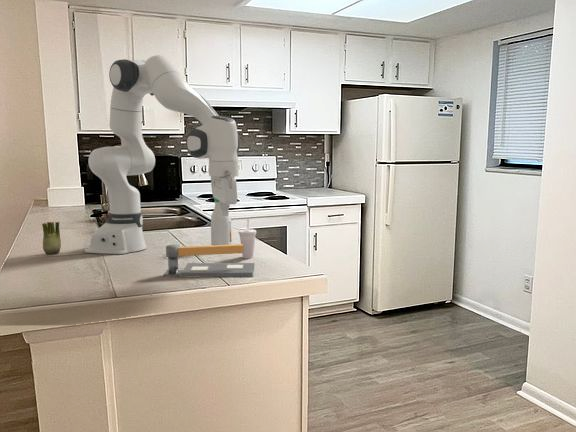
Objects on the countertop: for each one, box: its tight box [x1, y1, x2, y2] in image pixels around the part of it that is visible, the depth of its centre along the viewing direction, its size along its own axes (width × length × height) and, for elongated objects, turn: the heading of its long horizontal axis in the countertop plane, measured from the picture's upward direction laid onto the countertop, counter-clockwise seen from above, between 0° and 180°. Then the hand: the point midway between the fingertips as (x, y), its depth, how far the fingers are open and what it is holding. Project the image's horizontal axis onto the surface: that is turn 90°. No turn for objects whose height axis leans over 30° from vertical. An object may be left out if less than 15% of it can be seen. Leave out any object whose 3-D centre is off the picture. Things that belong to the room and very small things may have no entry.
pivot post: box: [163, 257, 184, 277], centre depth 159 cm, size 5×5×6 cm
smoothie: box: [238, 218, 257, 260], centre depth 180 cm, size 6×6×14 cm
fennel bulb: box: [41, 221, 62, 255], centre depth 185 cm, size 6×5×12 cm
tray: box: [180, 262, 255, 278], centre depth 162 cm, size 22×12×2 cm, turn 91°
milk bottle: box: [210, 197, 232, 245], centre depth 193 cm, size 8×8×20 cm
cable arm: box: [165, 243, 243, 258], centre depth 160 cm, size 24×4×3 cm, turn 101°
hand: (224, 215), depth 156 cm, fingers closed
